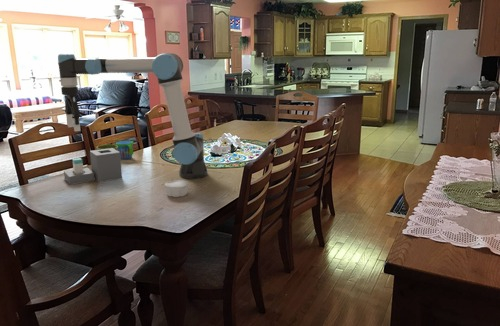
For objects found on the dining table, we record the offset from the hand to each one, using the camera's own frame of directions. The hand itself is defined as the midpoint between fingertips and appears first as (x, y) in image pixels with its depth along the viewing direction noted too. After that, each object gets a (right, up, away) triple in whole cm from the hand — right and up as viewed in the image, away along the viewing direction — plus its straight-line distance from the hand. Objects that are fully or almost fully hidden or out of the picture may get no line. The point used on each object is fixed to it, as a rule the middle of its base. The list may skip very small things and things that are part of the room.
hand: (74, 129), depth 204 cm
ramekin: (+54, -32, -13) cm, 64 cm away
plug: (0, -26, +7) cm, 27 cm away
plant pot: (+6, -19, +34) cm, 39 cm away
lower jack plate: (0, -26, +7) cm, 27 cm away
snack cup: (+11, -14, +50) cm, 53 cm away
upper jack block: (+13, -25, +11) cm, 30 cm away
